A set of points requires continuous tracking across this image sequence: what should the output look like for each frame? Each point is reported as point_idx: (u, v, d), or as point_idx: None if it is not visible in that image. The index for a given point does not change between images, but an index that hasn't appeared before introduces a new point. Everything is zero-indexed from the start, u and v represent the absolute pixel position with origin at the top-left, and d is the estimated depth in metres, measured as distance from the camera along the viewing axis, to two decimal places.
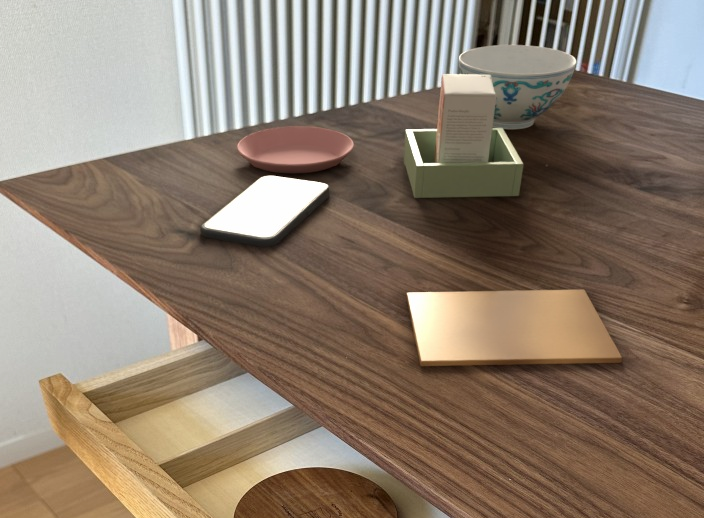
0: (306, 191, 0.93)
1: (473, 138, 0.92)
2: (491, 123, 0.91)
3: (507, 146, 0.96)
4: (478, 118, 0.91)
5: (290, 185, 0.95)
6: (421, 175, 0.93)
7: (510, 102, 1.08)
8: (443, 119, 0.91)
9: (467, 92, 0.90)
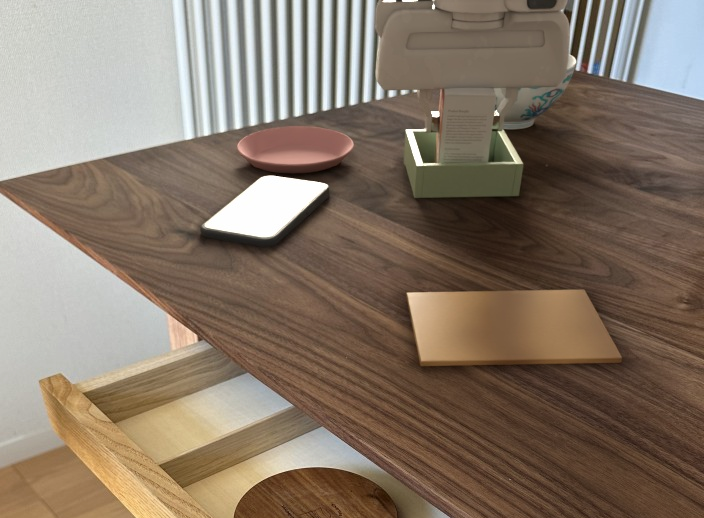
0: (306, 191, 0.93)
1: (473, 138, 0.92)
2: (491, 123, 0.91)
3: (507, 146, 0.96)
4: (477, 118, 0.91)
5: (290, 185, 0.95)
6: (421, 175, 0.93)
7: None
8: (443, 119, 0.91)
9: (467, 92, 0.90)
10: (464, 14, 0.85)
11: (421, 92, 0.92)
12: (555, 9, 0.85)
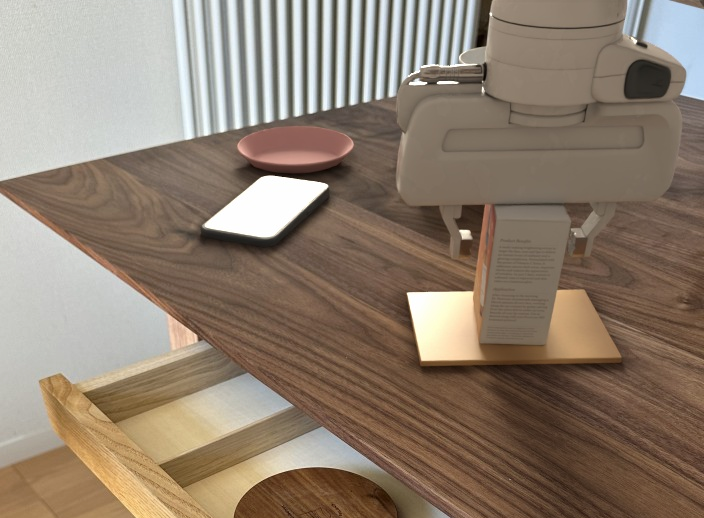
0: (306, 191, 0.93)
1: (535, 276, 0.65)
2: (562, 257, 0.64)
3: None
4: (543, 251, 0.63)
5: (290, 185, 0.95)
6: None
7: None
8: (493, 251, 0.64)
9: (529, 215, 0.62)
10: (529, 105, 0.58)
11: (446, 208, 0.64)
12: (665, 99, 0.57)
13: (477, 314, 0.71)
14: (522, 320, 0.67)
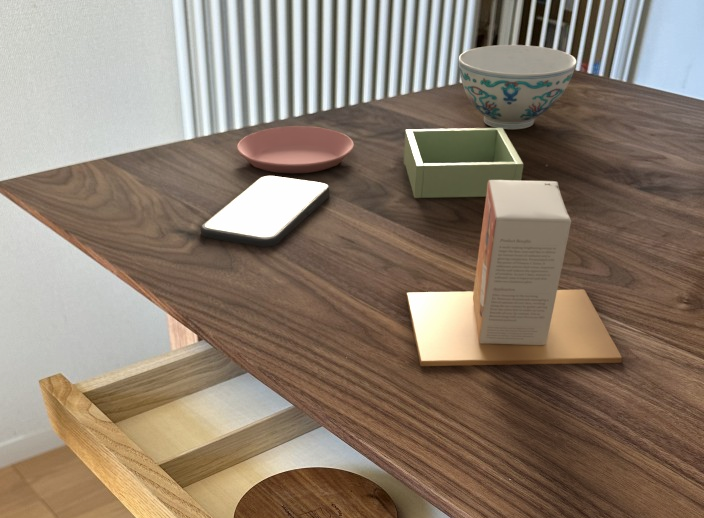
0: (306, 191, 0.93)
1: (535, 276, 0.65)
2: (562, 257, 0.64)
3: (507, 146, 0.96)
4: (543, 251, 0.63)
5: (290, 185, 0.95)
6: (421, 175, 0.93)
7: (510, 102, 1.08)
8: (493, 251, 0.64)
9: (529, 215, 0.62)
10: None
11: None
12: None
13: (477, 314, 0.71)
14: (522, 320, 0.67)
